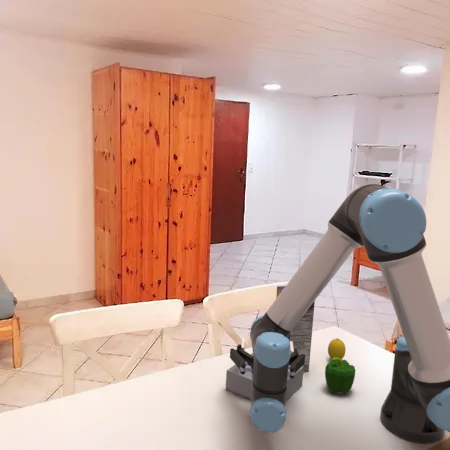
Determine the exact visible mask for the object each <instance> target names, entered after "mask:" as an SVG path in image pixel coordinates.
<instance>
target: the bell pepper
mask: <svg viewBox="0 0 450 450" xmlns="http://www.w3.org/2000/svg"><path fill="white" fill-rule="evenodd" d="M324 375H325V376H324V377H325V381H326V382H325V383H326V386H327V388H328V390H329V391H330V392H331V393H336V394H338V393H340V394H344V395H346V394H348V393H349V392H350V391H351V389H352V387H353V385H354V381H355V377H356V368H355V366H354V365H353V364H350V363H349V362H348V361H347V360H346V359H339V358H336V357H335V358H332V359H331V360H329V362H328V363H327V364H326V366H325V369H324Z"/></svg>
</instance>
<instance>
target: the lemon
mask: <svg viewBox="0 0 450 450" xmlns="http://www.w3.org/2000/svg"><path fill="white" fill-rule="evenodd" d="M327 354H328V356H329V358H330V359H331V360H332V358H335V357H336V358H339V359H341V360H343V358H344V357H345V354H346V345H345V342H344V341H343V340H341V339H340V338H334V339H332V340H331V341H330V342H329V344H328V347H327Z"/></svg>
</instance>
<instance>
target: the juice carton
mask: <svg viewBox="0 0 450 450" xmlns="http://www.w3.org/2000/svg"><path fill="white" fill-rule="evenodd" d="M285 287H286V285H282V286H281V285H279V286H276V296H275V297H276V299H277V297H278V296H279V295H280V293H281V292H282V291H283V289H284V288H285ZM276 299H275V300H276ZM315 301H316V300H315ZM315 301H314V302H313V303H312V305H311V306H310V307H309V309H308V310H307V311H306V313H305V314H304V315H303V316H302V318H301V319H300V320H299V322H298V323H297V324H296V325H295V327H294V328H293V329H292V331H291V332H290V334H289V335H288V336H287V338H288V339H289V341H292V342H293V349H297V351H298V354H299V355H301V354H305V364H304V365H303V367H304V370H303V373H306V372H310V360H311V348H312V347H311V346H312V335H313V325H314V316H315V315H314V314H315V313H314V312H315V303H316V302H315Z"/></svg>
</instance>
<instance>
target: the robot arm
mask: <svg viewBox="0 0 450 450" xmlns="http://www.w3.org/2000/svg"><path fill="white" fill-rule="evenodd" d="M340 204H341V205H339V207H338V208H337V210H336V211H335V212H334V214H333V215H332V217H331V218H330V219H329V221H328V222H327V227H328V228H327V230H326V232H325V233H324V235H323V236H322V238H321V239H320V240H319V241H318V242H317V244H315V247H314V248H313V249H312V251H310V253H309V255H308V256H307V257H306V258H305V260H304V261H303V262H302V264H301V265H300V267H299V268H298V269H297V270H296V272H295V273H294V275H293V276H292V277H291V279H290V280H289V282H287V284H286V285H285V286H286V287H285V288H284V289H283V291H282V292H281V293H280V295H279V296H278V297H277V299H275V300H274V301H273V303H272V304H271V305H270V307H269V308H268V309H267V310H266V312H264V315H261V316H258V317H257V318H255V319H254V320H253V321H252V323H251V326H250V332H249V337H250V342H251V347H252V353H253V356H252V355H251V354H252V353H249V352H248V351H245V347H246V346H245V345H246V344H245V343H246V337H244V336H243V337H242V339H241V344H237V345H236V349H235V348H229V349H230V351H229V359H230V360H231V361H232V362H233V363H234V365H235V364H236V366H237V367H238V368H239V369H240V373H241V374H245V372H247V371H250V372H251V373H252V396H251V400H250V406H249V408H250V409H249V413H250V420H251V422H252V424H253V425H254V427H255V428H256V429H257V430H259V431H260V432H263V433H274V432H277V431H279V430H281V428H283V426H284V425H285V422H286V419H287V418H286V417H287V408H286V402H287V401H286V391H287V377H288V375H289V377H290V378H294V374H295V373H296V372H297V371H298V370H299V369H300V368H301V367H302V366H303V365H304V364H305V354H301V355H299V354H298V351H297V349H293V342H292V341H289V339H288V338H287V336H288V335H289V334H290V332H291V331H292V329H293V328H294V327H295V325H296V324H297V323H298V322H299V320H300V319H301V318H302V316H303V315H304V314H305V313H306V311H307V310H308V309H309V307H310V306H311V305H312V303H313V302H314V301H316V299H317V298H319V296H320V295H321V293H322V292H323V290H324V289H325V288H326V286H328V285H329V283H330V282H331V280H332V279H333V278H334V277H335V275H336V274H337V273H338V272H339V270H340V269H341V268H342V266H343V265H344V263H346V261H347V260H348V258H349V257H350V255H352V254H353V252H354V251H355V249H360V248H363V247H364V250H365V253H366V256H367V259H368V260H369V261H370V262H371V263H373V264H376V265H378V266H379V269H380V273H381V275H382V278H383V281H384V283H385V286H386V289H387V292H388V295H389V298H390V301H391V304H392V307H393V309H394V312H395V315H396V318H397V320H398V324H399V327H400V330H401V332H402V335H403V336H400V337H399V338H397V340H396V345H395V348H394V351H395V352H394V358H393V367H392V375H391V385H390V391H389V392H388V393H387V395H386V398H385V400H384V402H383V403H382V405H381V408H380V414H379V415H380V416H379V418H380V421H381V424H382V425H383V426H384V427H385V428H386V429H387V430H388V431H390V432H391V433H392V434H394V435H396V436H398V437H400V438H402V439H405V440H408V441H411V442H416V443H421V442H422V444H423V443H425V444H426V442H431V443H435V441H436V442H438V441H440V440H441V439H443V438H444V436H445V431H446V432H449V433H450V336H449V334H448V331H447V327H446V325H445V321H444V318H443V315H442V313H441V310H440V306H439V303H438V300H437V297H436V295H435V290H434V288H433V285H432V281H431V278H430V275H429V274H428V271H427V270H428V269H427V267H426V263H425V260H424V258H423V254H422V253H423V252H424V251H425V249H426V247H427V242H426V238H425V236H424V233H425V232H426V229H427V216H426V213H425V210H424V208H423V205H421V203H420V202H419V200H417V199H416V198H415V197H414V196H412V195H410V194H409V193H408V192H406V191H403V190H401V189H398V188H394V187H387V186H384V185H381V184H377V183H371V184H370V183H369V184H364V185H362V186H359V187H358V188H355V189H354V190H353V191H352V192H350V194H349V195H347V197H345V199H344V201H342V203H340ZM248 365H249V366H248Z"/></svg>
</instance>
